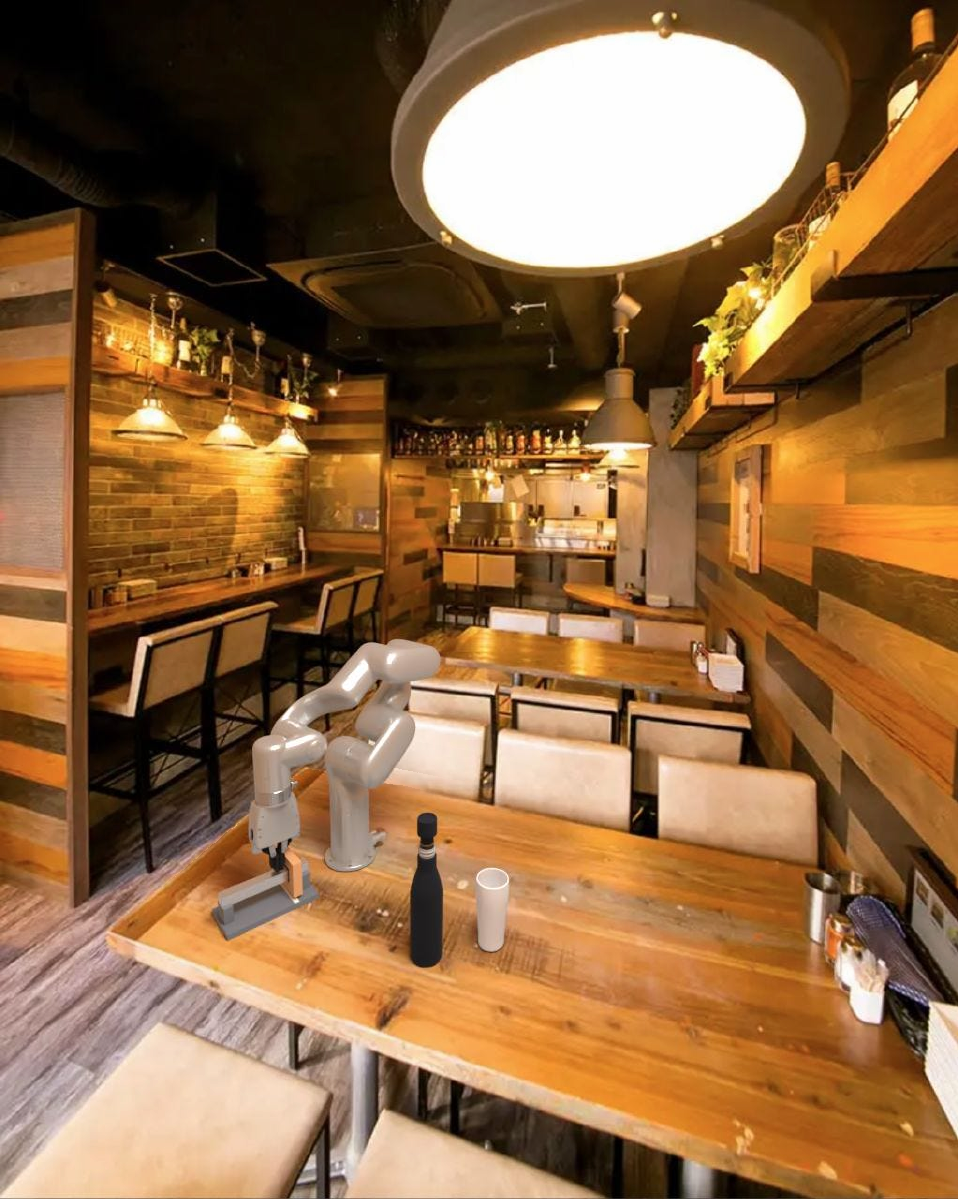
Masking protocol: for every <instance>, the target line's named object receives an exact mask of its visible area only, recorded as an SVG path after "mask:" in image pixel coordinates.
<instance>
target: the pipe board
mask: <svg viewBox="0 0 958 1199" xmlns="http://www.w3.org/2000/svg"><path fill="white" fill-rule="evenodd" d="M302 886H303V894H302V895H300V896H297V897H295V898H294V897H293V896H292V895H291V893H290V892H289V891H288V889H287V888H286V887H285V886H284V884H283V883H281V884H279V885H276V886H274V887H272V888H269V889H267V890H265V891H263V892H260V893H258V894H256V895H253V896H251V897H249V898H246V899H244V900H242V901H239V902H237V903H235V904H233V905H230V906H228V907H226V908H223V909H222V907H221V905H220V904H219V900H218V901H217V906H215V907H213V908H211V914H212V917H213V918H214V920H215V922H216V923H217V926H219V929H220V931H221V933H222V934H223V936H224V937H225V939H226V940H227V941H230V940H233V939H234V938H235V939H236V938H237V937H239V936H240V935H243V934H245V933H247V932H250V931H251V930H254V929H256V928H258V927H260V926H263V925H264V924H266V923H268V922H270V921H273V920H275V919H277V918H279V917H281V916H283V915H285V914H288V913H290V912H292V911H295V910H296V909H298V908H300V907H302V906H305V905H306V904H309V903H311V902H313V901H316V900H317V899H319V896H320V894H319V893H320V892H319V891H317V889H315V887H314V886H313V885H312V884H311V873H310V871H309V872H306V873H304V874H302Z"/></svg>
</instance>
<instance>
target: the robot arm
mask: <svg viewBox="0 0 958 1199" xmlns="http://www.w3.org/2000/svg"><path fill="white" fill-rule="evenodd" d="M441 660H442V659H441V655H440V653H439V651H438V650H437V649H436V647H434V646H431V645H429V644H428V645H427V644H425V643H421V642H417V641H413V640H407V639H400V638H395V639H391V640H390V641H388V642H387V644H382V643H377V642H372V641H371V642H367V643H364V644H362V645H360V647H359V648H358V649H357V650H356V652H354V654H353V655H352V656H351V657H350V658H349V659H348V660H347V661H346V663H345V664H344V665H343V666H342V668H340V669H339V671H338V672H337V673H336V674H335V675H334V676H333V677H332V679H331V680H330V681H329V682H328V683H327V684H325V685H322V686H321V687H318V688H317V689H315V690H312V691H311V692H308V693H307V694H305V695H304V696H302V697H300V698H299V699H298V700H296V701H295V702H294V703H292V704H291V705H290V706H289V707H288V709H286V711H284V713H283V714H282V715H281V716H280V718H279V719H278V720H277V721H276V722H275V724H274V726H273V727H272V729H271V732H270V735H265V736H262V737H260V738H258V739H256V740H255V741H254V743H253V744H252V749H251V751H252V752H251V754H252V755H251V756H252V768H253V769H252V770H253V786H254V799H252V800H251V801H250V807H249V816H248V840H249V841H250V842H251V844H250V845H251V846H250V852H251V853H252V854H253V855H257V854H262V853H263V854H265V855H268V865H269V868H270V869H271V870H275V872H276V873H277V872H279V871H280V870H281V871H282V870H284V865H283V864H284V863H285V852H286V851H287V847H289V845H290V844H291V843H292V841H294V840H296V839H297V838H299V837H301V831H300V830H301V820H300V813H299V808H298V802H297V799H296V795H295V793H294V792H293V789H294V788H296V787H297V786H298V781H297V780H292V777H291V774H292V773H291V772H292V771H291V769H292V768H296V767H301V766H306V765H311V764H314V763H316V762H318V761H320V759H321V758H323V756H324V767H325V768H324V769H325V773H326V775H327V782H328V790H329V792H328V794H329V823H330V824H329V825H330V845H329V847H327V849H326V851H325V853H324V862H325V864H326V865H327V867H329V868H330V869H333V870H335V871H338V872H346V873H347V872H354V871H358V870H361V869H363V868H366V867H368V866H369V865H370V864H371V863H372V862H373V861H374V860H375V858H376V855H377V854H376V853H377V852H376V850H377V849H376V847H375V845H377V843H378V842H381V841H383V840H385V839H387V833H386V832H385V831H384V830H383V831H381V832H378V833H377V830H376V829H373V830H371V831H370V799H369V798H370V790H374V789H377V788H379V787H381V786H382V785H383V784H384V783H385V782H386V781H387V780H388V779H389V777H390V776H391V774H392V773H393V772H394V769H395V768H396V766H397V765H398V764H399V762H400V760H401V759H402V758H403V757H404V755H405V753H406V752H407V750H408V749H409V747H410V745H411V744H412V742H413V740H414V737H415V734H416V723H415V720H414V717H413V716H412V715H411V714H410V713H408V712H406V711H404V709H405V708H406V707H407V704H408V703H409V702H410V701H409V700H410V698H411V695H412V682H415V681H421V680H426V679H429V678H432V677H433V676H434V675H436V674H437V672H438V671H439V669H440V667H441ZM378 680H380V681H382V682H381V684H380V686H379V687H378V688H377V689H376V691H375V693H374V694H373V695H372V697H370V700H368V702H367V703H366V705H365V706H364V707H363V709H362V710H361V711H360V712H359V715H358V716H357V718H356V720H355V724H354V725H355V727H354V728H355V731H356V732H357V733H358V734H359V735H360V736H361V737H362V738H364V739H366V740H369V741H371V742H373V743H374V744H371V743H368V742H366V741H364V740H361V739H358V738H356V737H353V736H349V735H341V736H338V737H335V738H333V740H331V741H330V742H329V743H328V740H327V738H326V736H325V735H324V734H323V733H322V732H320V731H318V730H316V729H314V728H311V727H309V725H310V724H311V723H312V722H313V721H315V720H316V719H318V718H319V717H321V716H323V715H327V714H328V713H329V714H330V713H333V712H339V711H344V710H349V709H354V708H355V707H356V706H357V705H358V704H359V703H360V702H361V700H363V698H364V697H365V695H366V694H368V692H369V691H370V689H371V688H373V686H374V684H376V682H377V681H378ZM275 845H276V847H275Z"/></svg>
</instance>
